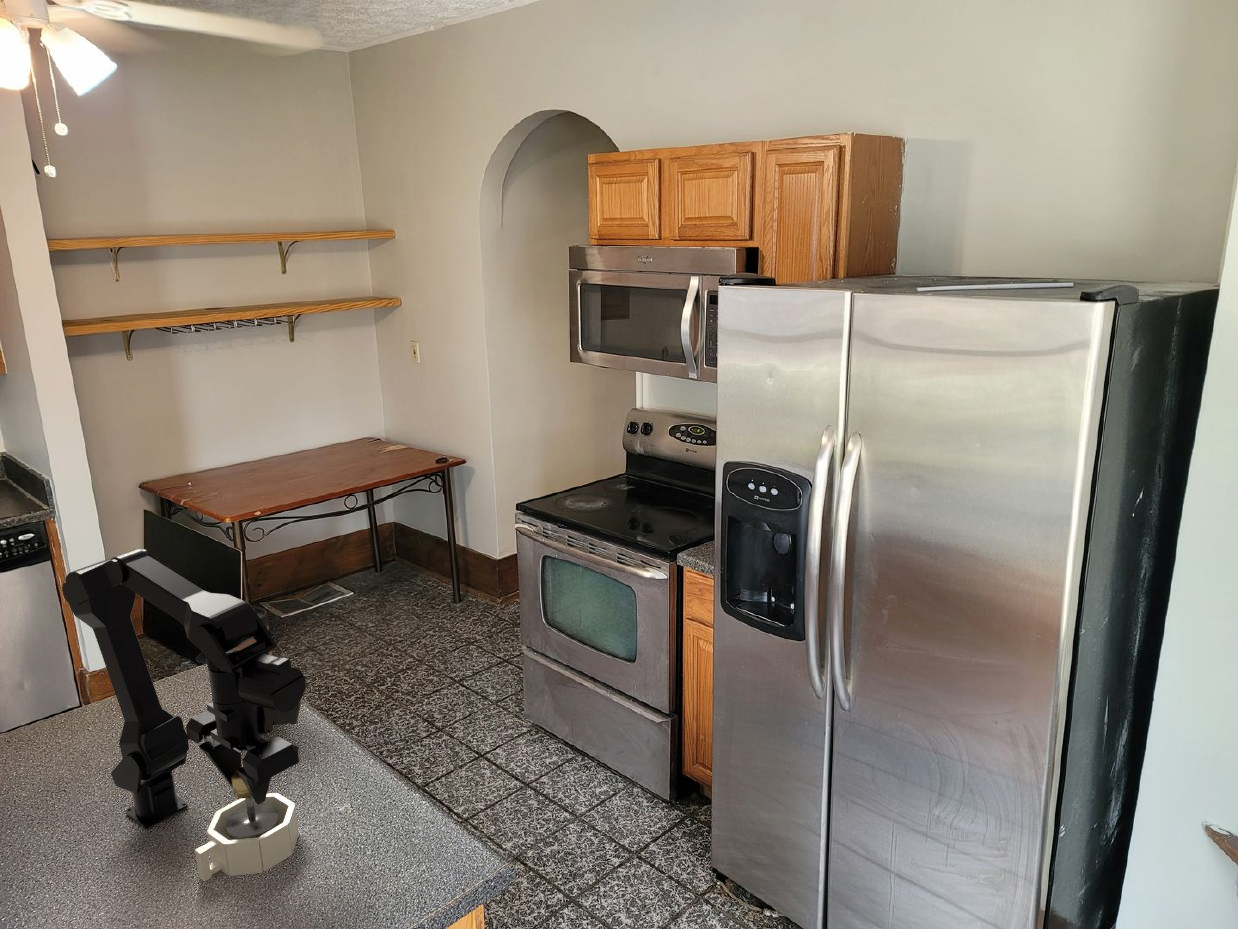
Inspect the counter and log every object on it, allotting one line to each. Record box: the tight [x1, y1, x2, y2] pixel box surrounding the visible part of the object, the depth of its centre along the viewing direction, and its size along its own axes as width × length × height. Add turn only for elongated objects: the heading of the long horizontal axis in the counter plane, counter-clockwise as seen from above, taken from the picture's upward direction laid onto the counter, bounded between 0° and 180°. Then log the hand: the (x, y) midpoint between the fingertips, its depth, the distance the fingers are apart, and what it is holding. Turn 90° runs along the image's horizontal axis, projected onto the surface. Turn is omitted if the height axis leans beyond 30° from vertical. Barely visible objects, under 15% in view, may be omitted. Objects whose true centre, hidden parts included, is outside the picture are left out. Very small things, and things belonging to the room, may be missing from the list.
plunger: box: [225, 772, 279, 840], centre depth 124 cm, size 7×7×8 cm
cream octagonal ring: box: [194, 792, 300, 882], centre depth 124 cm, size 11×13×5 cm
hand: (248, 795), depth 124 cm, fingers open, 6 cm apart
